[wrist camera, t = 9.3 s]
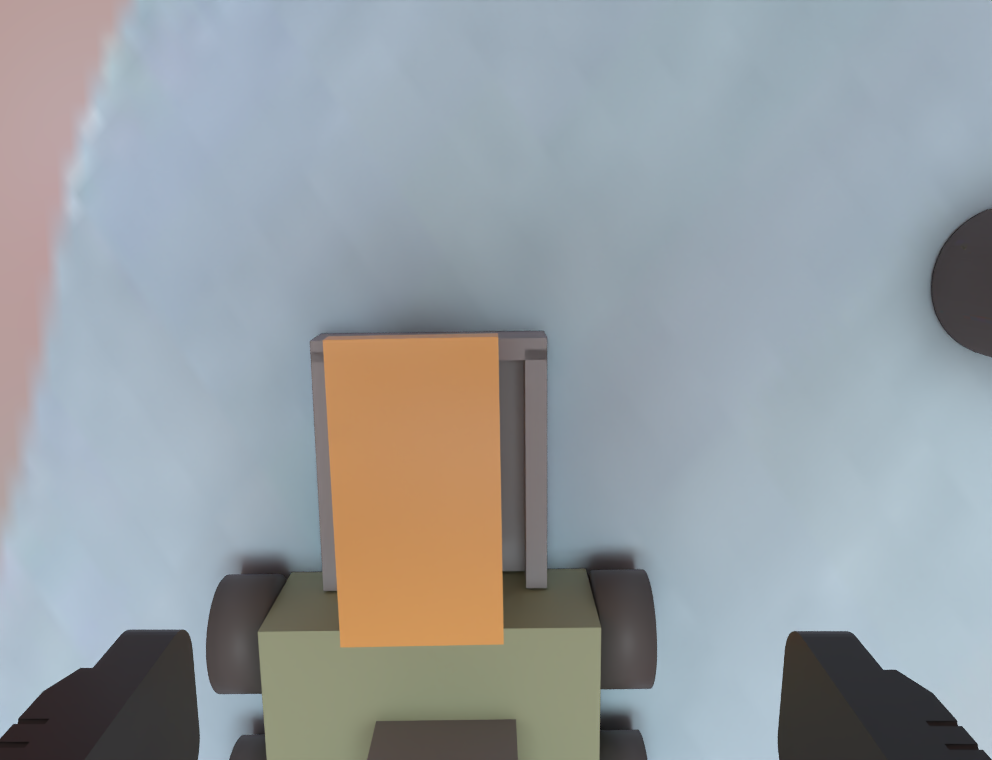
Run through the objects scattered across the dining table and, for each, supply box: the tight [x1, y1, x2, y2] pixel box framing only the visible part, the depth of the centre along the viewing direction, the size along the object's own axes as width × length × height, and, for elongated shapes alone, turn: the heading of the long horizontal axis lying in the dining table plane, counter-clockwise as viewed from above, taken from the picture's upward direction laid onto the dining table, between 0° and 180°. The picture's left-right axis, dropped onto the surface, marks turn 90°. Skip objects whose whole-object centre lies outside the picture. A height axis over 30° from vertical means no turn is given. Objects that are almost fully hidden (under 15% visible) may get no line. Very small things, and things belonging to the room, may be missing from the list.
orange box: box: [323, 333, 504, 648], centre depth 28 cm, size 10×5×8 cm, turn 1°
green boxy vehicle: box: [206, 331, 657, 760], centre depth 30 cm, size 20×16×9 cm
